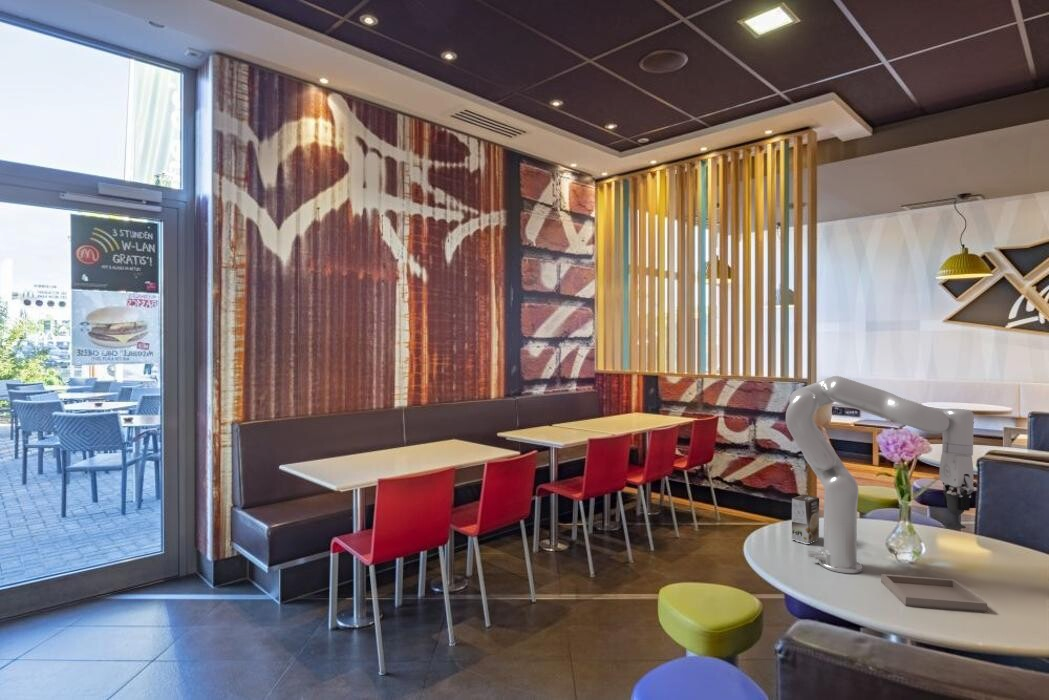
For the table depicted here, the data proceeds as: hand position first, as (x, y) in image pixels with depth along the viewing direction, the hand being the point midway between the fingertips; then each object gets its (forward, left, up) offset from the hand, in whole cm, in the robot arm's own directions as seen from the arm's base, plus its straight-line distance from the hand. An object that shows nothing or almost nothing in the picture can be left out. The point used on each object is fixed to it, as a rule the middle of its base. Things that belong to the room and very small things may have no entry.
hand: (956, 506), depth 172 cm
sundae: (0, 0, -6) cm, 6 cm away
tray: (-13, -13, -23) cm, 30 cm away
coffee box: (-35, +30, -24) cm, 52 cm away
